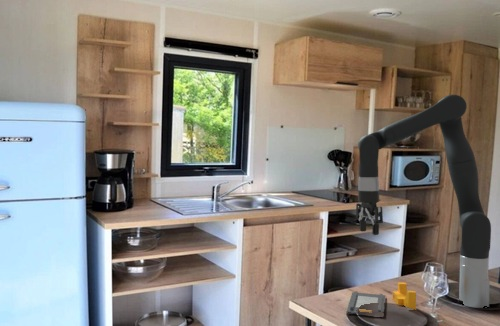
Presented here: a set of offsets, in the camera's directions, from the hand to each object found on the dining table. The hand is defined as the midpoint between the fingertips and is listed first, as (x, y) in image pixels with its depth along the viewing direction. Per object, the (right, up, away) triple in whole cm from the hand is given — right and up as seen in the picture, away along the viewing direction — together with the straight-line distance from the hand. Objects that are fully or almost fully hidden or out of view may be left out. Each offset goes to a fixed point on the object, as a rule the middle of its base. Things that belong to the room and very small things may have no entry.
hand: (369, 232), depth 174 cm
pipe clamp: (+10, -25, -8) cm, 28 cm away
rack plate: (-3, -24, -9) cm, 26 cm away
